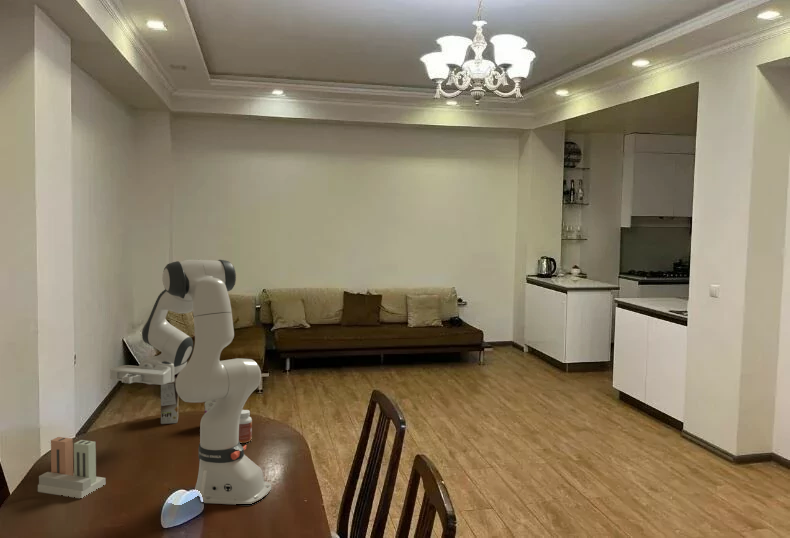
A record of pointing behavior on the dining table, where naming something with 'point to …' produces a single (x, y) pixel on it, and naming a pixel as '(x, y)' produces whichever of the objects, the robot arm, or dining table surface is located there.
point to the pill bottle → (245, 426)
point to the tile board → (73, 492)
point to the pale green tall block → (85, 459)
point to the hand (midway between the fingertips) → (125, 380)
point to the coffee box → (169, 403)
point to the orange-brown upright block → (62, 456)
